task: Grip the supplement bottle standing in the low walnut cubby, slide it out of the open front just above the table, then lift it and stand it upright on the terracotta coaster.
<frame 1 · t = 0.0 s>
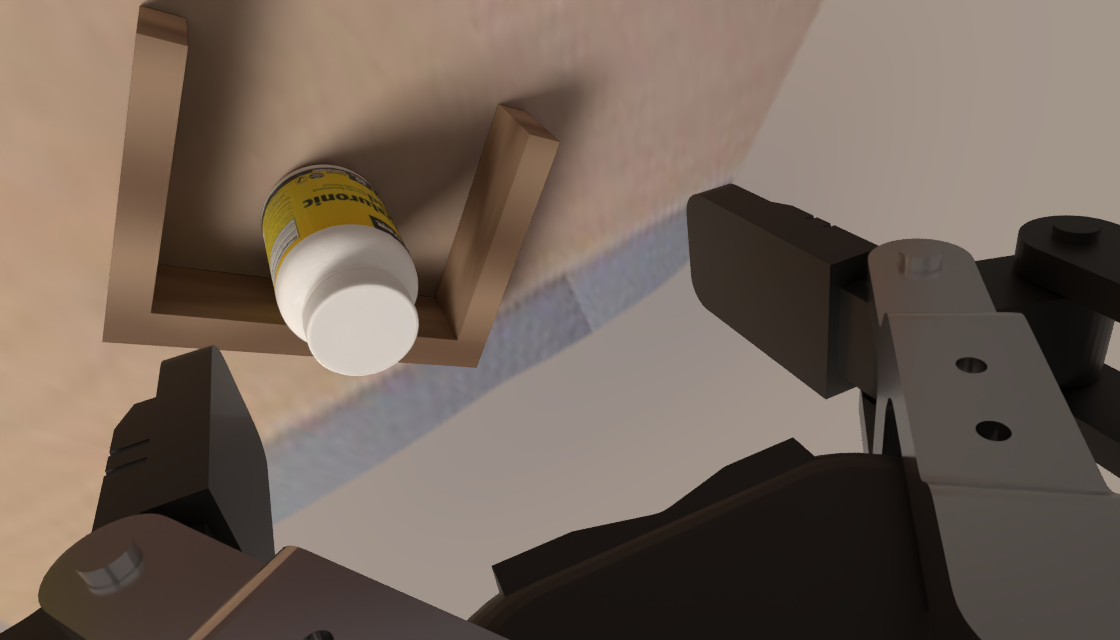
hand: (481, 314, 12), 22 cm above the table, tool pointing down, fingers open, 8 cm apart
supplement bottle: (322, 214, 34), on the table
walnut cubby: (327, 196, 34), on the table
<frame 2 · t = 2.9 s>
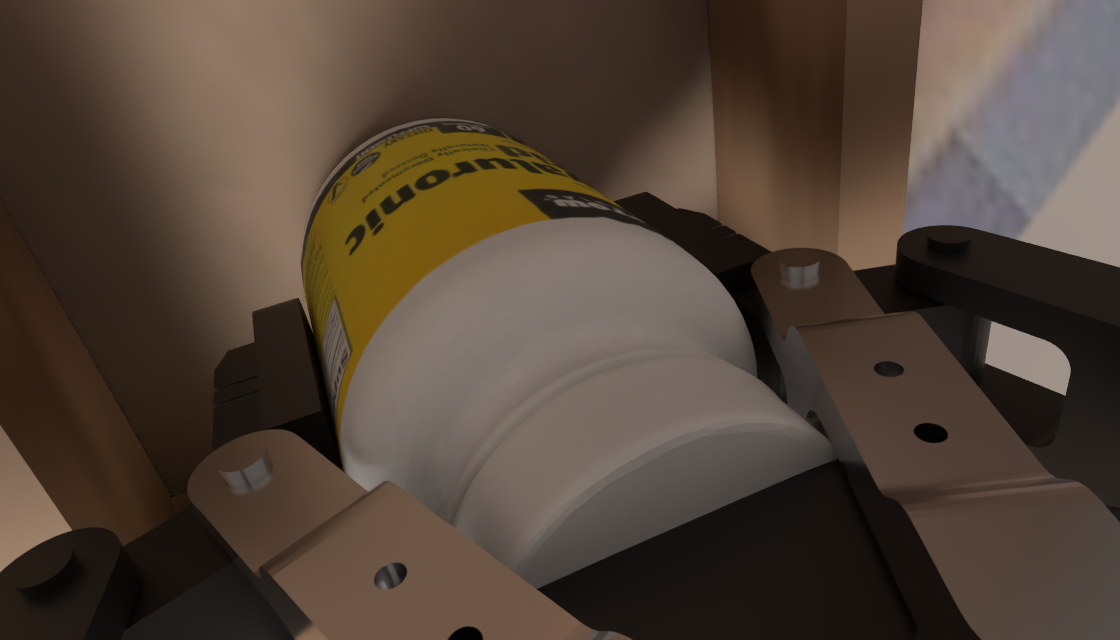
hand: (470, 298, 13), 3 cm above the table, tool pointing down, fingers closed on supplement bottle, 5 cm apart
supplement bottle: (435, 244, 15), on the table, touching gripper
walnut cubby: (425, 201, 14), on the table
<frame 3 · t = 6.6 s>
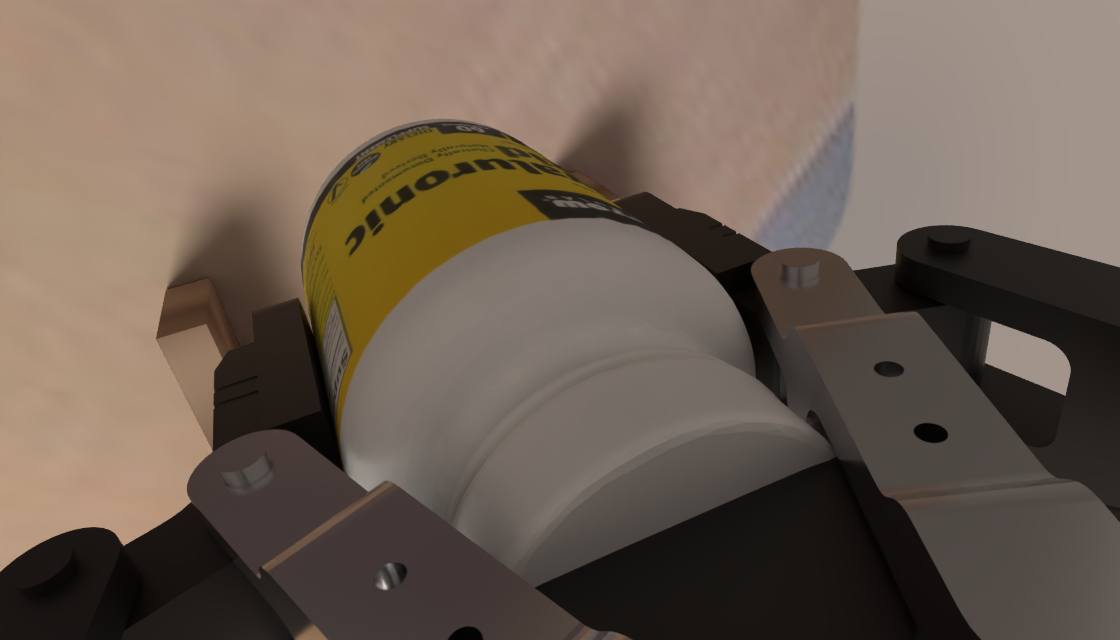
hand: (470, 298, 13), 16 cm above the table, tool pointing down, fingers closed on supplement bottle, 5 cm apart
supplement bottle: (434, 244, 15), point 13 cm above the table, touching gripper
walnut cubby: (425, 356, 31), on the table
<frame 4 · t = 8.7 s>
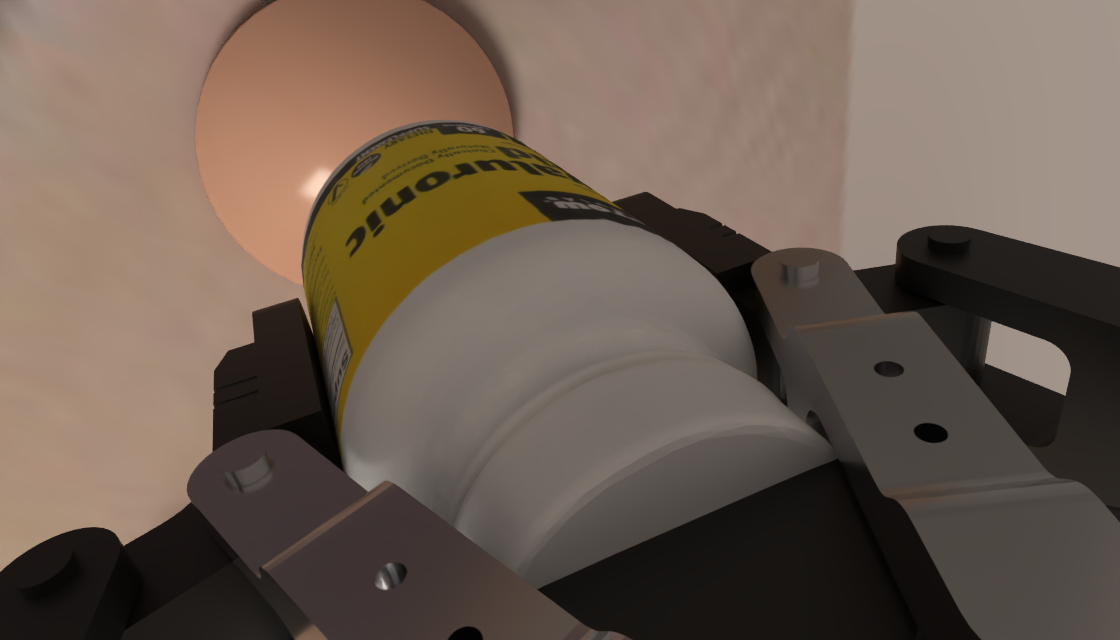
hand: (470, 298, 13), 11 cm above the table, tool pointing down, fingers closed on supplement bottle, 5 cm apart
supplement bottle: (435, 245, 15), point 9 cm above the table, touching gripper
terracotta coaster: (364, 148, 22), on the table
when the fingers open (5 cm above the table, at t = 10.3 s): supplement bottle drops 2 cm, resting on terracotta coaster.
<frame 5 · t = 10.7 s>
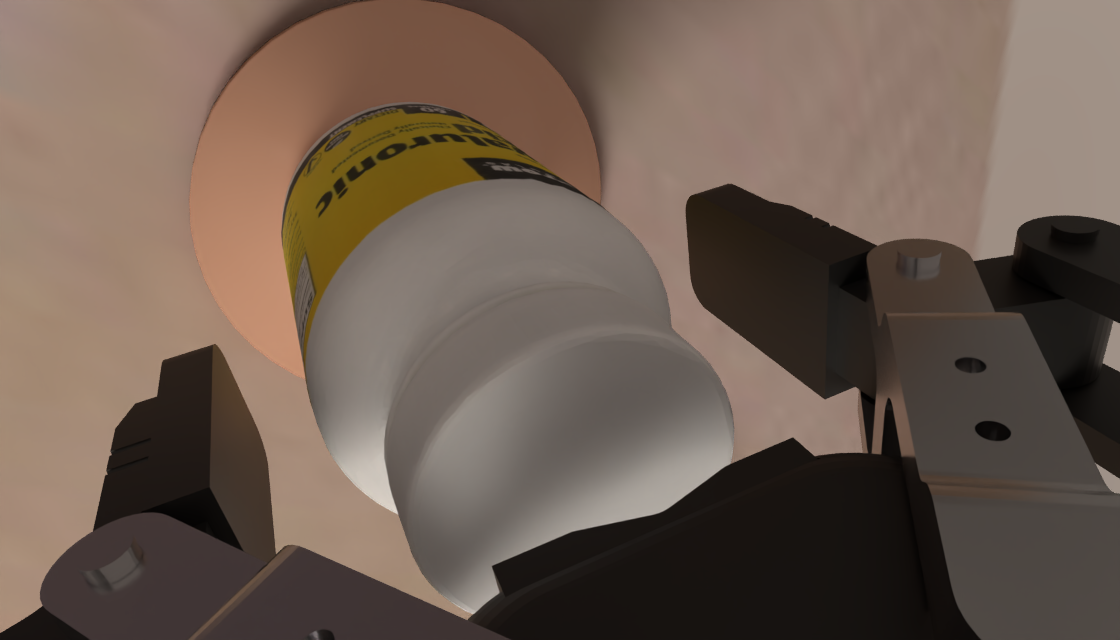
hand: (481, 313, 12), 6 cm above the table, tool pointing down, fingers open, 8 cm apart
supplement bottle: (405, 218, 17), resting on terracotta coaster
terracotta coaster: (410, 212, 17), on the table
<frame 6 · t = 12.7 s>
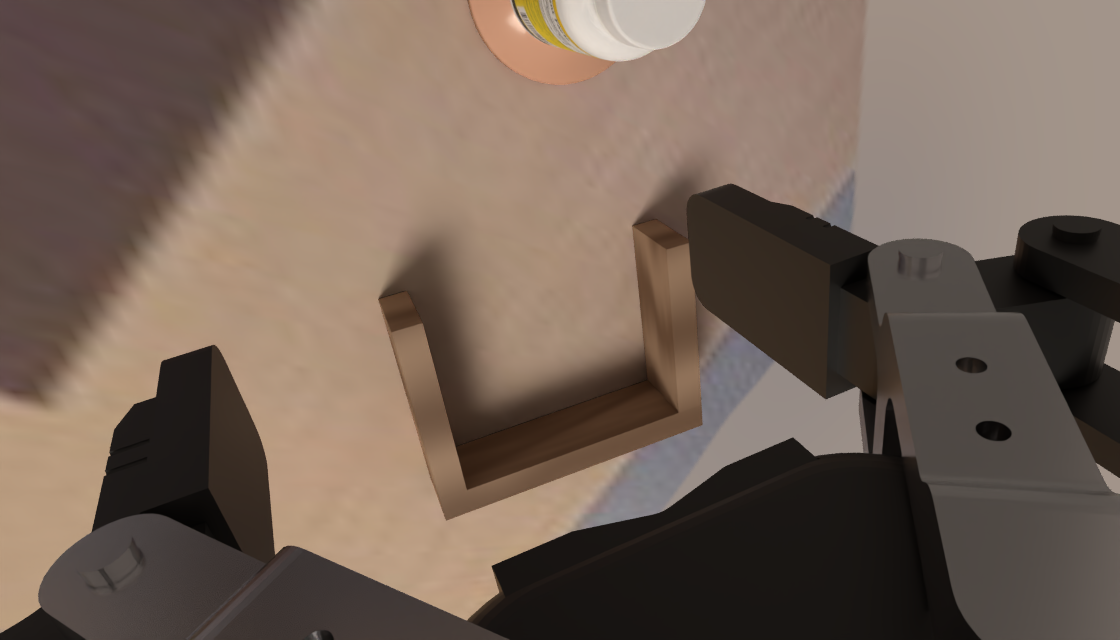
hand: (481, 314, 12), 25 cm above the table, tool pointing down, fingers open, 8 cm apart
walnut cubby: (541, 350, 43), on the table
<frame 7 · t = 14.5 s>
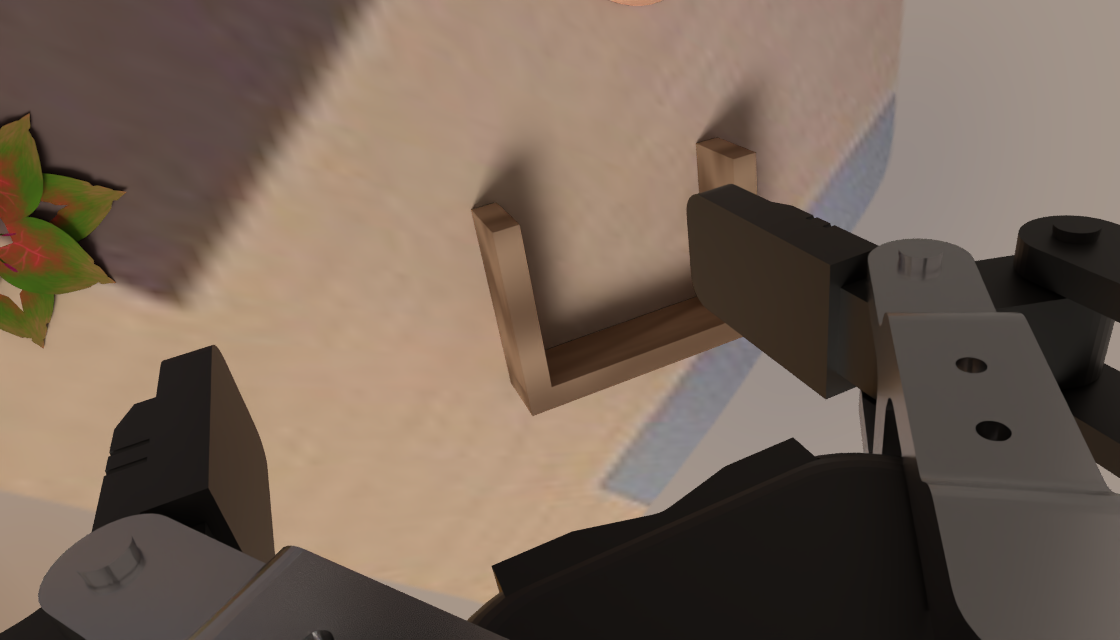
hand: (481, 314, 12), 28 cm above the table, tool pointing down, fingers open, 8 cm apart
walnut cubby: (612, 262, 47), on the table
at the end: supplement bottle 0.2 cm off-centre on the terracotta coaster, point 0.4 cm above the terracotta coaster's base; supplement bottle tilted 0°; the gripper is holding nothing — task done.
